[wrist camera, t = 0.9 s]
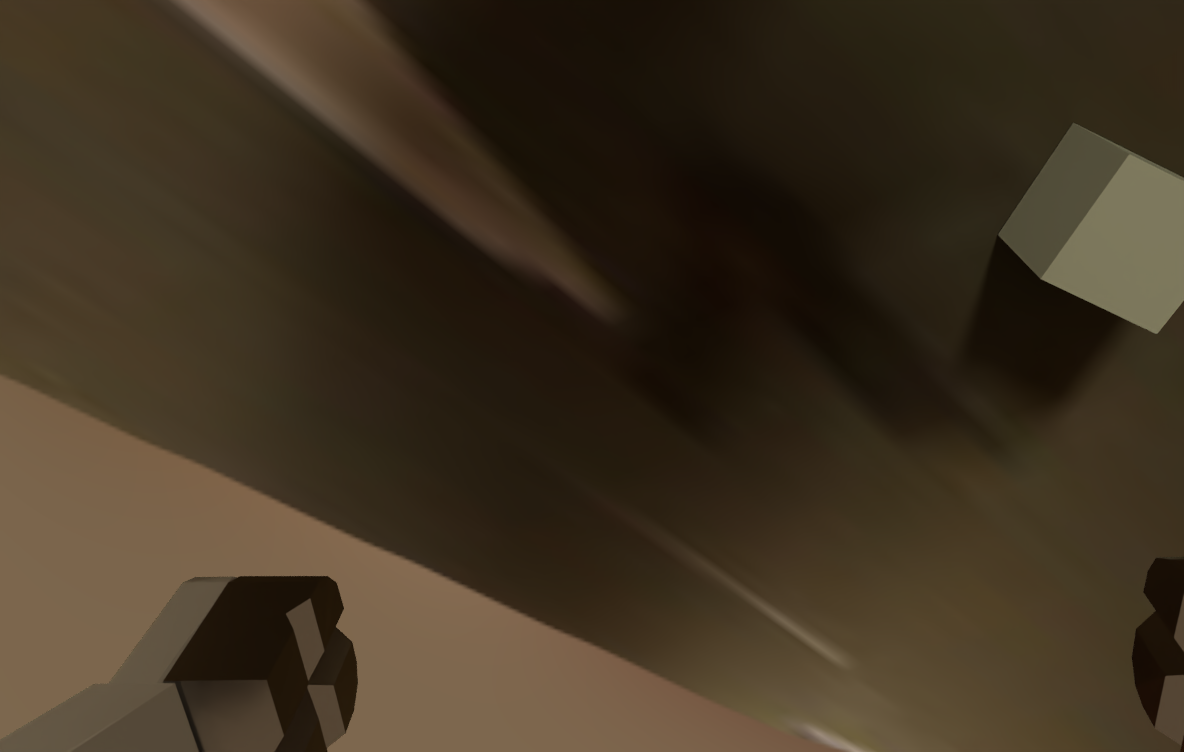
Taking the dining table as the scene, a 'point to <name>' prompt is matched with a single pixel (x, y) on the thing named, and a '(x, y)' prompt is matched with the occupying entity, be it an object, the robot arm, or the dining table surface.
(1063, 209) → the sage green cube
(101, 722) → the robot arm
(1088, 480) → the dining table surface
